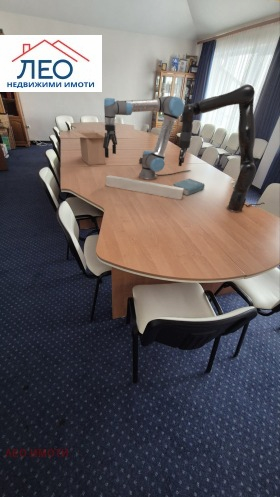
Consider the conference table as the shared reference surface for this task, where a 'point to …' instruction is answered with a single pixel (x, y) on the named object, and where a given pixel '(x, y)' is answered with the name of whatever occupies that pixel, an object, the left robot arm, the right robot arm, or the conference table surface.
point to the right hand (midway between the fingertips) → (180, 164)
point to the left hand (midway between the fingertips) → (110, 155)
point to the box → (92, 146)
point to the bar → (144, 187)
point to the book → (189, 186)
